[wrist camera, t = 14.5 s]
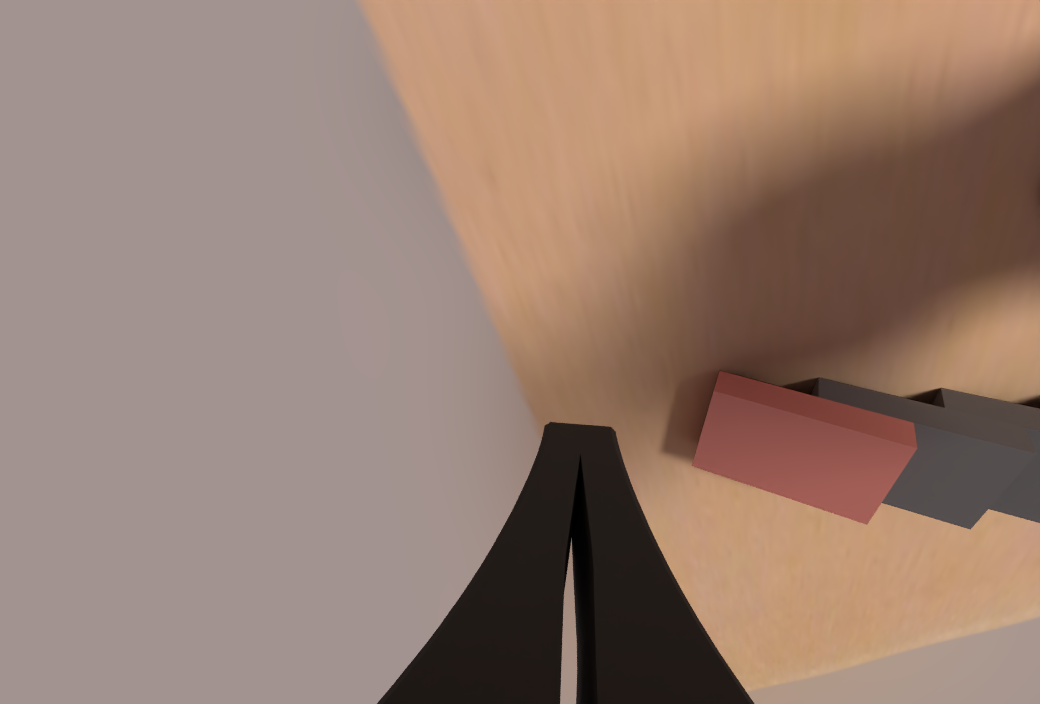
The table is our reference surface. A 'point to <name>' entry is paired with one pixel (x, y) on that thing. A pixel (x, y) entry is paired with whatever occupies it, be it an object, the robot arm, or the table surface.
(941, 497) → the domino
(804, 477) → the red domino
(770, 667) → the table surface
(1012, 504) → the domino
